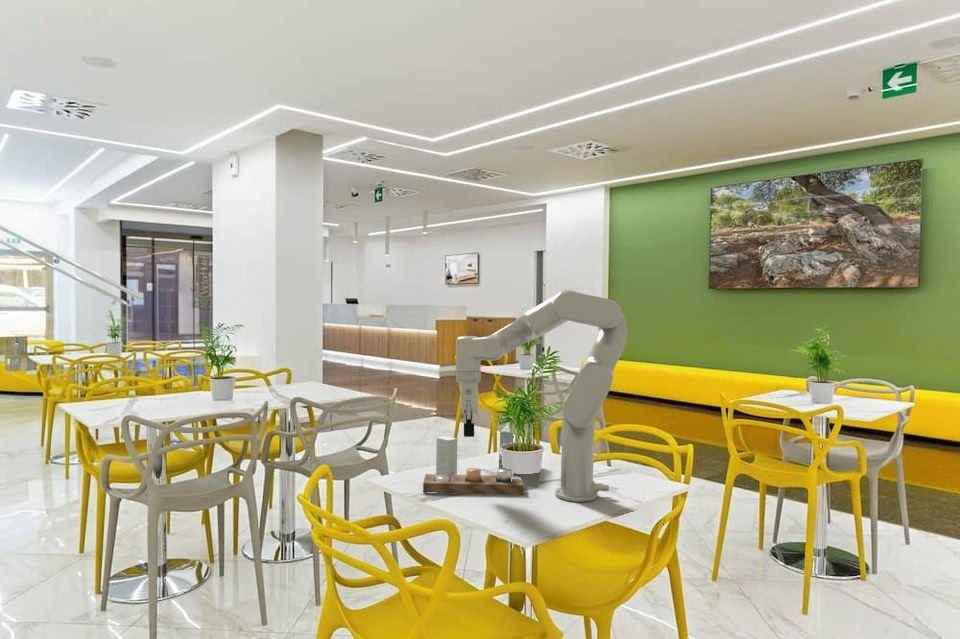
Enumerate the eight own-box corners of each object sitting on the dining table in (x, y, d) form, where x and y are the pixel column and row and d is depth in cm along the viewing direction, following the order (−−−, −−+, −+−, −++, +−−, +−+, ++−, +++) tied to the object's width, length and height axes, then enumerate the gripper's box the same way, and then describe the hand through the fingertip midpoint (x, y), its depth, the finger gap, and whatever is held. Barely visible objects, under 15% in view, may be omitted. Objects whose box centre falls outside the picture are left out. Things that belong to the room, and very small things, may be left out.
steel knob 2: (511, 479, 201) (511, 468, 201) (511, 483, 196) (512, 472, 196) (496, 479, 201) (497, 468, 201) (497, 483, 196) (497, 472, 196)
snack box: (514, 477, 213) (515, 432, 212) (497, 476, 214) (498, 431, 213) (523, 462, 234) (524, 420, 233) (507, 461, 235) (508, 419, 234)
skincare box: (457, 474, 215) (458, 438, 215) (448, 476, 212) (449, 440, 212) (444, 470, 219) (444, 435, 219) (435, 473, 216) (436, 437, 216)
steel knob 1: (449, 486, 201) (449, 475, 201) (449, 490, 196) (449, 479, 196) (435, 486, 201) (435, 475, 201) (434, 490, 196) (434, 479, 196)
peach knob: (480, 478, 201) (480, 467, 201) (480, 482, 196) (480, 471, 196) (466, 478, 201) (466, 467, 201) (466, 482, 196) (466, 471, 196)
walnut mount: (520, 485, 204) (521, 475, 204) (523, 494, 194) (523, 484, 194) (425, 483, 204) (425, 474, 203) (423, 492, 194) (423, 483, 193)
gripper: (481, 379, 190) (481, 441, 191) (480, 373, 205) (480, 431, 206) (455, 379, 190) (456, 441, 191) (456, 374, 205) (457, 431, 205)
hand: (469, 436), depth 198 cm, fingers closed
